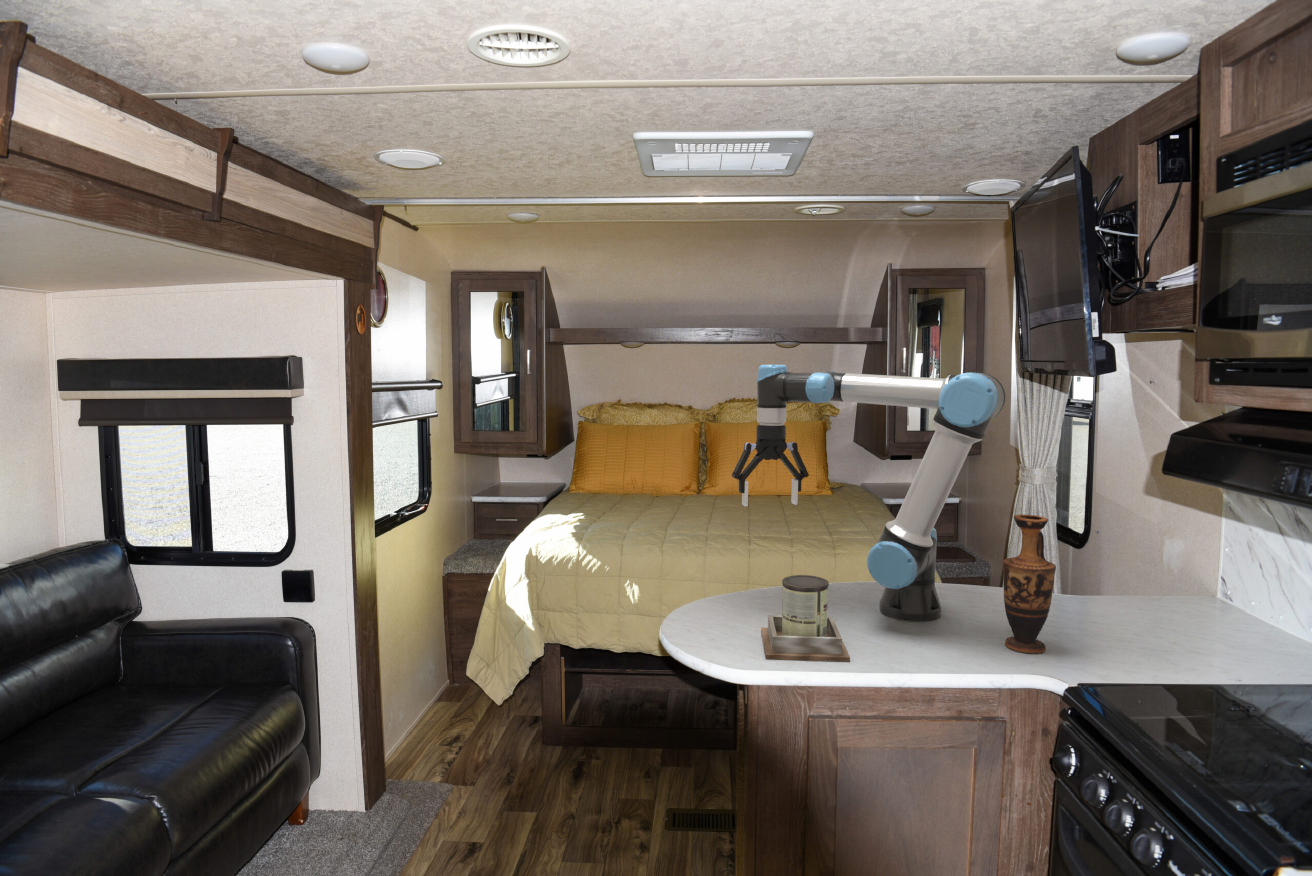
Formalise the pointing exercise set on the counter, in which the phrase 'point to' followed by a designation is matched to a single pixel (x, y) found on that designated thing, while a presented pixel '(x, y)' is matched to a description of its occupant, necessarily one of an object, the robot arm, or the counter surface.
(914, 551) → the robot arm
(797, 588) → the coffee can
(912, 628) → the counter surface
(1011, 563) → the vase
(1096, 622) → the counter surface
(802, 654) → the collar board
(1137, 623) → the counter surface
